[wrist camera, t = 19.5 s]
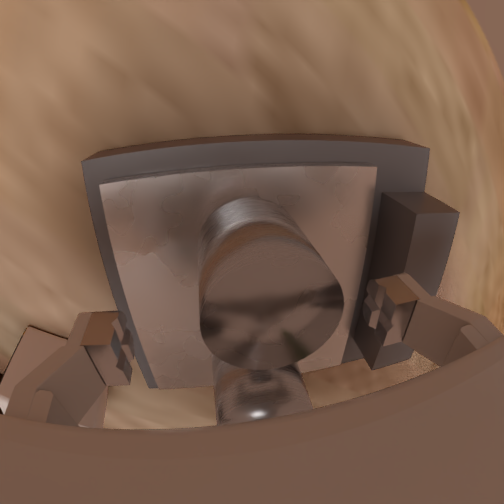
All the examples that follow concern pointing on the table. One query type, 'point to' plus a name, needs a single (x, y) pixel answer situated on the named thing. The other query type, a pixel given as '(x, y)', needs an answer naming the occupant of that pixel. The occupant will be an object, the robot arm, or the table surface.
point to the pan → (186, 248)
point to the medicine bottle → (32, 355)
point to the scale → (297, 151)
